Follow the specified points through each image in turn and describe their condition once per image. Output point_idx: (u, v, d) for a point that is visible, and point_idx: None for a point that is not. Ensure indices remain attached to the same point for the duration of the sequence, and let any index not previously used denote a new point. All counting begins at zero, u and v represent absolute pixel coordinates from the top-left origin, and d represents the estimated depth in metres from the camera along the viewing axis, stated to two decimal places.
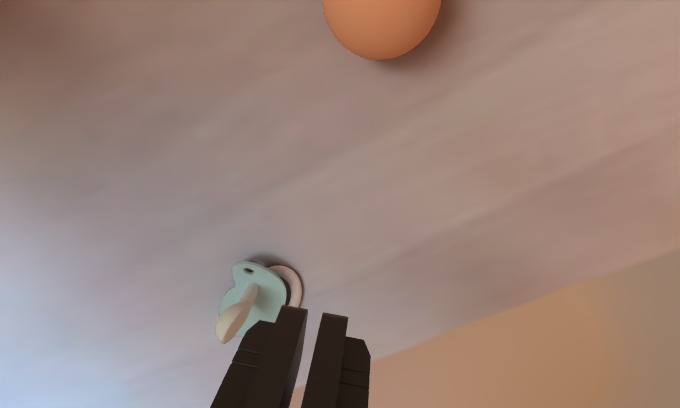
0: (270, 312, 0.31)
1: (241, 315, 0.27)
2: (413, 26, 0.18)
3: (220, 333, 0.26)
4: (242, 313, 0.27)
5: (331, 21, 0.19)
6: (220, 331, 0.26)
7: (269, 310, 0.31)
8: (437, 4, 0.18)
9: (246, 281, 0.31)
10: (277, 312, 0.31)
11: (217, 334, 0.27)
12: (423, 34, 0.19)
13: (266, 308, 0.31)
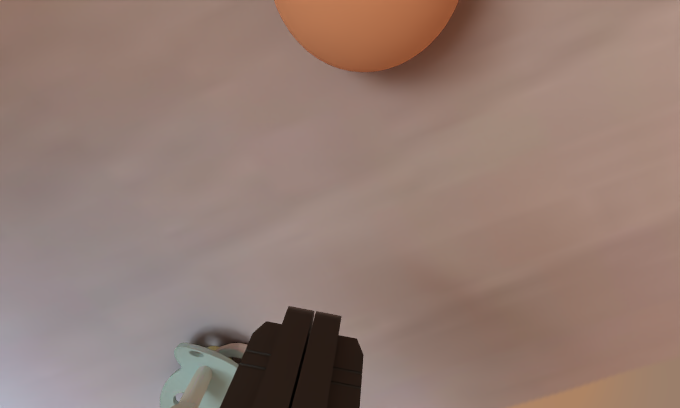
0: None
1: None
2: (420, 17, 0.10)
3: None
4: None
5: (282, 10, 0.11)
6: None
7: None
8: None
9: (195, 364, 0.23)
10: None
11: None
12: (436, 31, 0.11)
13: (223, 396, 0.24)
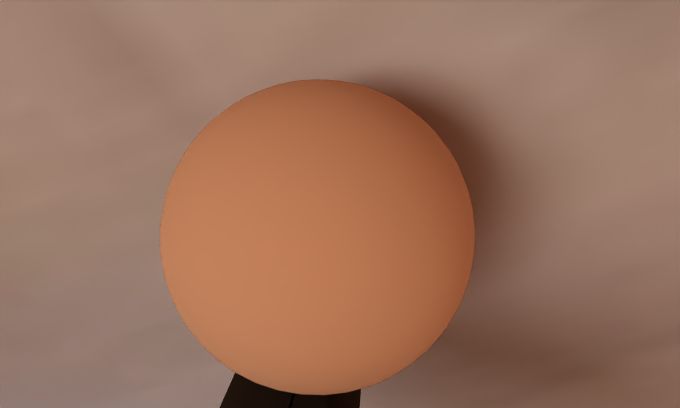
0: None
1: None
2: (443, 235, 0.06)
3: None
4: None
5: (174, 247, 0.06)
6: None
7: None
8: (473, 216, 0.07)
9: None
10: None
11: None
12: (462, 285, 0.06)
13: None
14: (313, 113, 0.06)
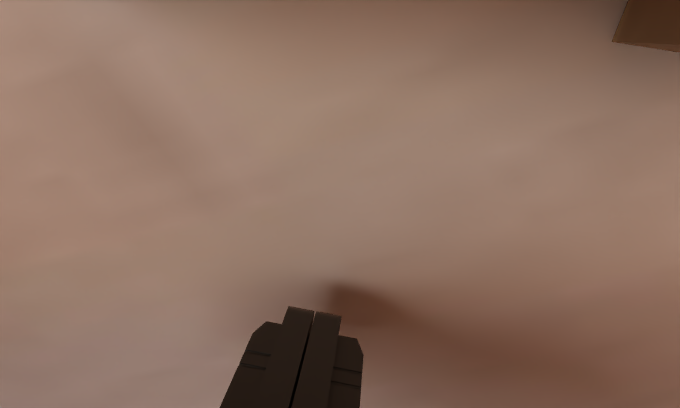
0: None
1: None
2: None
3: None
4: None
5: None
6: None
7: None
8: None
9: None
10: None
11: None
12: None
13: None
14: None
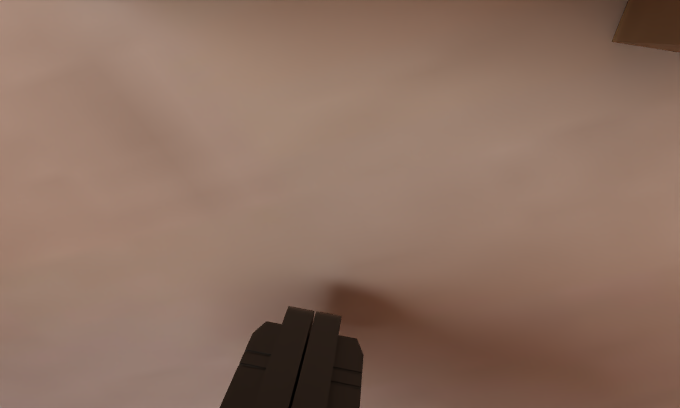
0: None
1: None
2: None
3: None
4: None
5: None
6: None
7: None
8: None
9: None
10: None
11: None
12: None
13: None
14: None
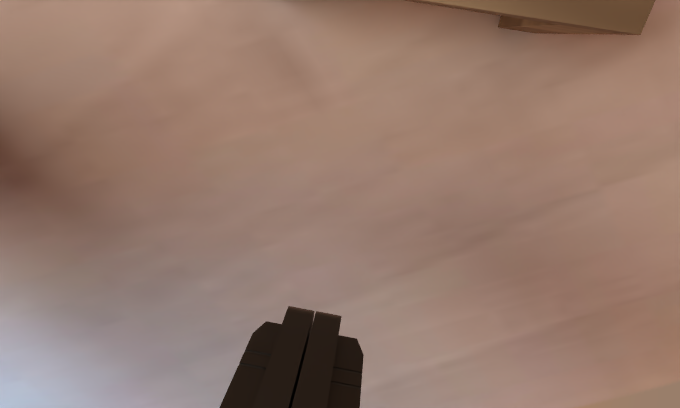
0: None
1: None
2: None
3: None
4: None
5: None
6: None
7: None
8: None
9: None
10: None
11: None
12: None
13: None
14: None
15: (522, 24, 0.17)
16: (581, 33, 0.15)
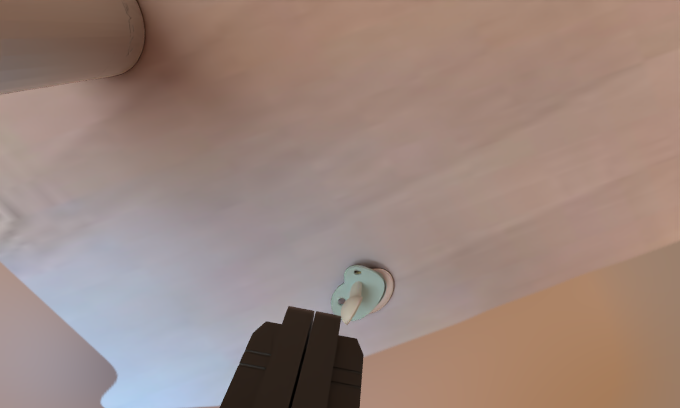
0: (369, 303, 0.42)
1: (359, 304, 0.38)
2: None
3: (347, 316, 0.37)
4: (360, 303, 0.38)
5: None
6: (347, 315, 0.37)
7: (368, 301, 0.42)
8: None
9: (353, 280, 0.42)
10: (374, 303, 0.42)
11: (344, 317, 0.37)
12: None
13: (366, 300, 0.42)
14: None
15: None
16: None
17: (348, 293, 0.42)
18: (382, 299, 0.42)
